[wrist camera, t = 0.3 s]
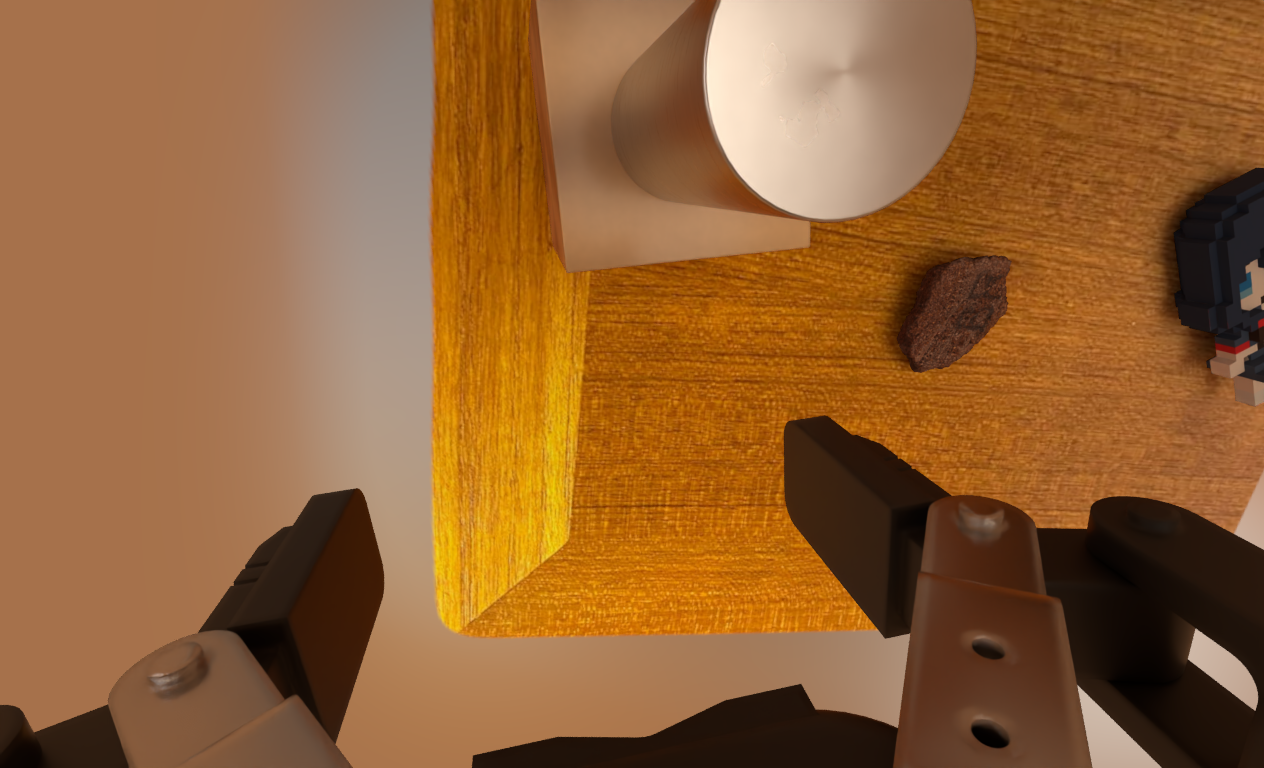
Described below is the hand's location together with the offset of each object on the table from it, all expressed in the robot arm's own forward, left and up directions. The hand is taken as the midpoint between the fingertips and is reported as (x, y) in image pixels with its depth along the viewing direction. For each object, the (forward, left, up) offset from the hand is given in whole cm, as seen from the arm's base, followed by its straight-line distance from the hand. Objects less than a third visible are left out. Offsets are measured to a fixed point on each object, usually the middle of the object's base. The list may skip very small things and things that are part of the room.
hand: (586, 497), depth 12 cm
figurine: (+5, +45, -24) cm, 51 cm away
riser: (-7, +6, -24) cm, 25 cm away
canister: (-7, +6, -14) cm, 17 cm away
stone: (+4, +24, -24) cm, 34 cm away
